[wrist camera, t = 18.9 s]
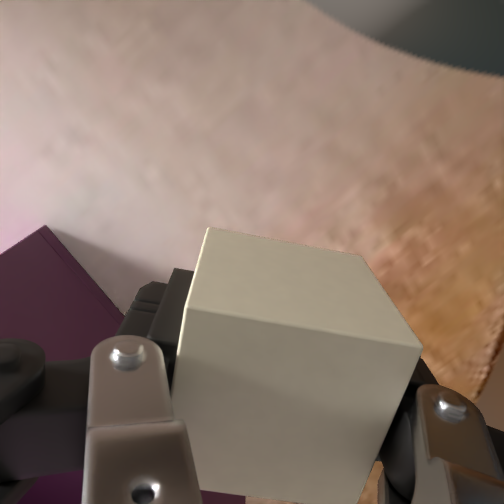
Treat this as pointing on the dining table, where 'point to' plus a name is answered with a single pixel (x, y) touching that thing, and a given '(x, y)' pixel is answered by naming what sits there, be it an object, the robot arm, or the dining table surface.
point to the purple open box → (59, 330)
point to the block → (288, 369)
